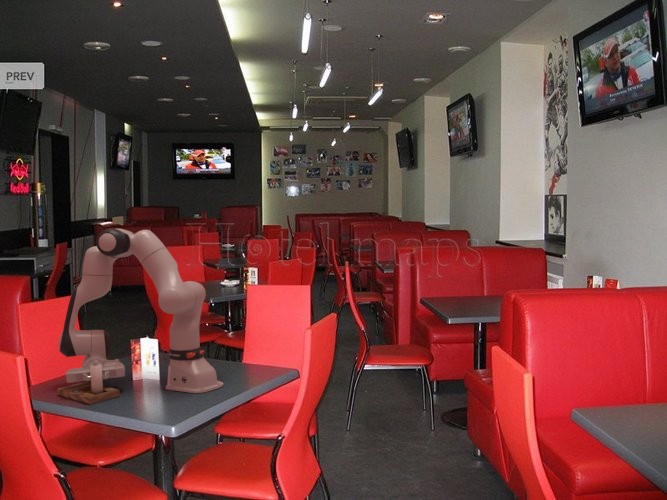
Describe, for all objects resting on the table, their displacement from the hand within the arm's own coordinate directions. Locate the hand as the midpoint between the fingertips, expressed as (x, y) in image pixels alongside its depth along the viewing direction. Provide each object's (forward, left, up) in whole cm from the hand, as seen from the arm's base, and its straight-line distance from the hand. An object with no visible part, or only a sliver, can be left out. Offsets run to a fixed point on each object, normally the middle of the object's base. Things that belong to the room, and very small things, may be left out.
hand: (96, 378), depth 237 cm
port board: (+7, 0, -8) cm, 10 cm away
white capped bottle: (+1, 0, -5) cm, 6 cm away
